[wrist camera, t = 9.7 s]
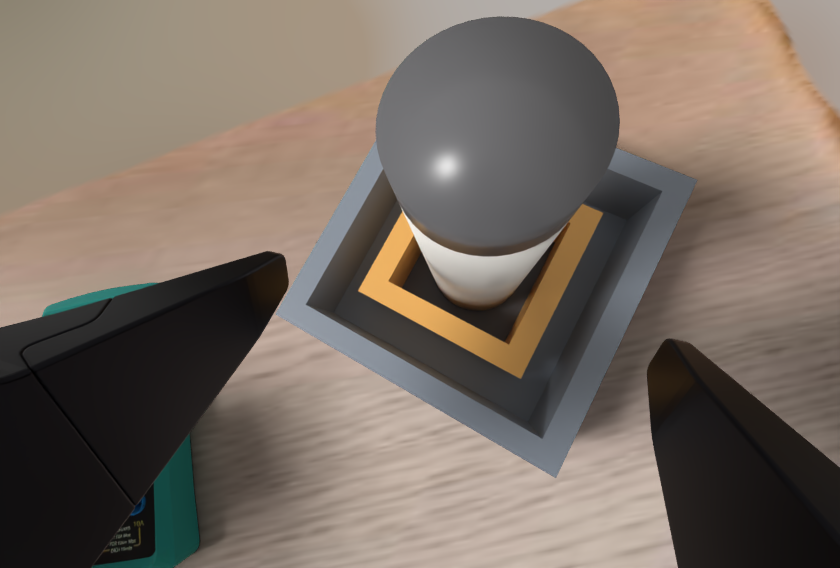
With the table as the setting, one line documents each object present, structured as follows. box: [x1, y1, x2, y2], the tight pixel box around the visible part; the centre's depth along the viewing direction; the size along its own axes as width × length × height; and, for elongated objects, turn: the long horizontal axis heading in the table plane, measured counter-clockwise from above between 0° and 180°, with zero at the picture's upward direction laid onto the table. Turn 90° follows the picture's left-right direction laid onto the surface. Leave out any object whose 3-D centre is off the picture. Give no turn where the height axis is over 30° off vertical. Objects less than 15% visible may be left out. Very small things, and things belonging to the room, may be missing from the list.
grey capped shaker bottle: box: [376, 17, 620, 311], centre depth 13 cm, size 4×4×12 cm
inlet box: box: [276, 141, 697, 478], centre depth 18 cm, size 13×13×4 cm
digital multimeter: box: [42, 283, 200, 568], centre depth 20 cm, size 7×15×3 cm, turn 10°
